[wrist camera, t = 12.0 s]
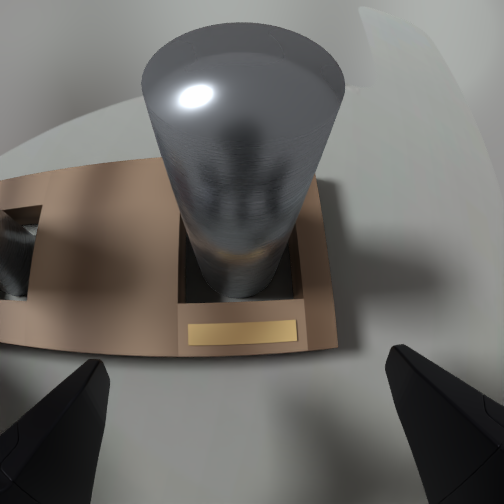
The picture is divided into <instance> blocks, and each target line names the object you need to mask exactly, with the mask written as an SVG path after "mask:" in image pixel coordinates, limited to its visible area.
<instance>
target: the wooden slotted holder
mask: <svg viewBox="0 0 504 504" xmlns="http://www.w3.org/2000/svg"><path fill="white" fill-rule="evenodd" d="M0 209H1V210H3V211H4V212H5V213H6V214H7V215H9V216H10V217H11V218H12V219H13V220H15V221H16V222H17V223H18V224H20V225H28V224H38V223H39V224H38V229H37V234H36V239H35V245H34V251H33V257H32V263H31V270H30V278H29V286H28V296H27V301H12V300H0V343H5V344H12V345H18V346H25V347H33V348H40V349H49V350H58V351H67V352H78V353H90V354H104V355H121V356H145V357H225V356H250V355H268V354H282V353H295V352H306V351H317V350H325V349H331V348H337V347H338V340H337V329H336V318H335V309H334V299H333V290H332V282H331V274H330V266H329V258H328V251H327V244H326V237H325V230H324V224H323V217H322V211H321V205H320V199H319V193H318V187H317V181H316V176H315V174H314V177H313V179H312V182H311V184H310V187H309V190H308V192H307V195H306V197H305V200H304V202H303V205H302V207H301V210H300V212H299V215H298V217H297V220H296V222H295V225H294V227H293V230H292V232H291V235H290V237H289V240H288V243H289V253H290V264H291V275H292V286H293V297H294V299H291V300H273V301H251V302H224V303H186V228H185V225H184V222H183V219H182V217H181V214H180V211H179V208H178V205H177V202H176V199H175V196H174V193H173V190H172V187H171V184H170V181H169V178H168V175H167V172H166V169H165V166H164V162H163V159H162V157H160V158H148V159H137V160H127V161H118V162H109V163H101V164H93V165H86V166H79V167H72V168H65V169H59V170H53V171H47V172H41V173H36V174H31V175H25V176H20V177H15V178H11V179H6V180H1V181H0Z"/></svg>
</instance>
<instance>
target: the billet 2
mask: <svg viewBox="0 0 504 504" xmlns="http://www.w3.org/2000/svg"><path fill="white" fill-rule="evenodd" d="M141 85H142V92H143V96H144V100H145V103H146V106H147V110H148V113H149V117H150V120H151V123H152V127H153V130H154V133H155V137H156V140H157V143H158V146H159V150H160V153H161V156H162V159H163V162H164V166H165V169H166V172H167V175H168V178H169V181H170V184H171V187H172V190H173V193H174V196H175V199H176V202H177V205H178V208H179V211H180V214H181V217H182V219H183V222H184V225H185V228H186V231H187V234H188V237H189V239H190V242H191V245H192V248H193V251H194V253H195V256H196V259H197V262H198V264H199V267H200V270H201V272H202V275H203V277H204V279H205V281H206V282H207V283H208V285H209V286H210V287H211V288H212V289H214V290H215V291H216V292H218V293H220V294H222V295H224V296H227V297H231V298H245V297H250V296H253V295H255V294H257V293H259V292H260V291H262V290H263V289H264V288H265V287H266V286H267V285H268V284H269V283H270V281H271V280H272V278H273V276H274V274H275V271H276V269H277V267H278V264H279V262H280V259H281V257H282V254H283V252H284V250H285V247H286V245H287V242H288V240H289V237H290V235H291V232H292V230H293V227H294V225H295V222H296V220H297V217H298V215H299V212H300V210H301V207H302V205H303V202H304V200H305V197H306V195H307V192H308V190H309V187H310V184H311V182H312V179H313V177H314V174H315V172H316V169H317V166H318V164H319V161H320V159H321V156H322V153H323V151H324V148H325V145H326V143H327V140H328V137H329V135H330V132H331V130H332V127H333V124H334V121H335V119H336V116H337V113H338V111H339V108H340V105H341V102H342V100H343V96H344V93H345V81H344V76H343V73H342V71H341V69H340V67H339V65H338V64H337V62H336V61H335V60H334V58H333V57H332V56H331V55H330V54H329V53H328V52H327V51H326V50H325V49H324V48H322V47H321V46H320V45H318V44H317V43H315V42H313V41H312V40H310V39H308V38H307V37H304V36H302V35H300V34H298V33H295V32H293V31H290V30H287V29H284V28H280V27H276V26H272V25H266V24H259V23H239V22H238V23H224V24H217V25H211V26H207V27H203V28H199V29H196V30H193V31H190V32H188V33H185V34H183V35H181V36H179V37H177V38H175V39H173V40H172V41H170V42H169V43H167V44H166V45H164V46H163V47H162V48H161V49H159V51H157V52H156V53H155V54H154V55H153V57H152V58H151V59H150V60H149V62H148V64H147V66H146V67H145V69H144V72H143V75H142V82H141Z"/></svg>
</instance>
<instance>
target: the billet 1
mask: <svg viewBox="0 0 504 504" xmlns="http://www.w3.org/2000/svg"><path fill="white" fill-rule="evenodd" d="M35 239H36V237H35V236H34V235H32V234H31V233H30V232H28V231H27V230H26V229H25V228H23V227H22V226H21V225H20V224H18V223H17V222H16V221H15V220H13V219H12V218H11V217H10V216H9V215H7V214H6V213H5V212H4V211H3V210H1V209H0V290H2V291H4V292H7V293H9V294H11V295H14V296H22V295H25V294H27V293H28V286H29V278H30V270H31V263H32V257H33V251H34V245H35Z"/></svg>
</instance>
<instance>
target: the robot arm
mask: <svg viewBox="0 0 504 504" xmlns="http://www.w3.org/2000/svg"><path fill="white" fill-rule="evenodd" d="M385 371H386V375H387V378H388V382H389V385H390V389H391V393H392V397H393V400H394V404H395V407H396V410H397V413H398V416H399V419H400V421H401V424H402V426H403V429H404V432H405V435H406V437H407V440H408V443H409V445H410V448H411V451H412V454H413V457H414V460H415V462H416V465H417V468H418V471H419V474H420V477H421V480H422V483H423V486H424V489H425V493H426V496H427V499H428V502H429V504H504V406H502V405H500V404H499V403H497V402H495V401H494V400H492V399H490V398H489V397H487V396H486V395H483V394H482V393H481V392H479V391H478V390H476V389H475V388H473V387H471V386H470V385H468V384H467V383H465V382H463V381H462V380H460V379H459V378H457V377H455V376H454V375H452V374H451V373H449V372H448V371H446V370H444V369H443V368H441V367H440V366H438V365H436V364H435V363H433V362H432V361H430V360H428V359H427V358H425V357H424V356H422V355H420V354H419V353H417V352H416V351H414V350H413V349H411V348H409V347H408V346H406V345H404V344H400V345H394V346H392V347H391V349H390V352H389V355H388V358H387V361H386V364H385ZM109 388H110V378H109V376H108V373H107V371H106V368H105V366H104V363H103V362H102V360H99V359H89V360H87V361H86V362H85V363H84V364H83V365H81V366H80V367H79V368H78V369H77V370H75V371H74V372H73V373H72V374H71V375H70V376H68V377H67V378H66V379H65V380H64V381H63V382H61V383H60V384H59V385H58V386H57V387H56V388H54V389H53V390H52V391H51V392H50V393H49V394H47V395H46V396H45V397H44V398H43V399H42V400H41V401H39V402H38V403H37V404H36V405H35V406H34V407H32V408H31V409H30V410H29V411H28V412H27V413H26V414H24V415H23V416H22V417H21V418H20V419H19V420H18V422H15V423H14V424H13V425H12V426H11V427H10V428H8V429H7V430H6V431H5V432H4V433H2V434H1V435H0V504H90V502H91V496H92V490H93V484H94V478H95V472H96V467H97V462H98V457H99V452H100V447H101V442H102V437H103V433H104V428H105V421H106V413H107V404H108V396H109Z"/></svg>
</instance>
